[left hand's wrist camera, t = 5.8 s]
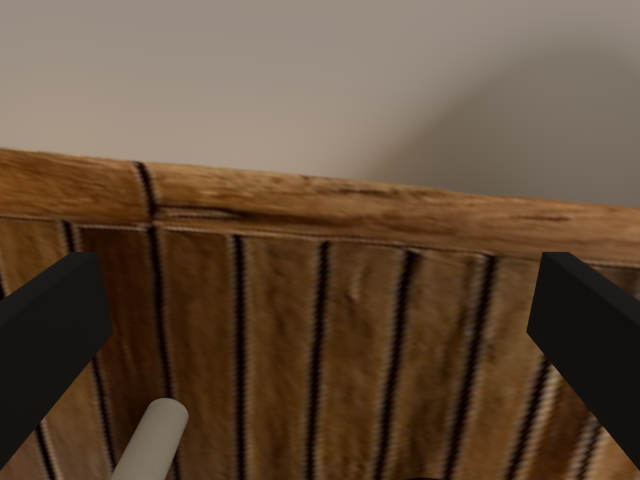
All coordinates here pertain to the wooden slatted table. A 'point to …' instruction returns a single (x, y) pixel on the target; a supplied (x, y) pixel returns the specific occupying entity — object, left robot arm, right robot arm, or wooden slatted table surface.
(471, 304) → the wooden slatted table surface
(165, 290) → the wooden slatted table surface
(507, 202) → the wooden slatted table surface
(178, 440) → the beige cylinder
